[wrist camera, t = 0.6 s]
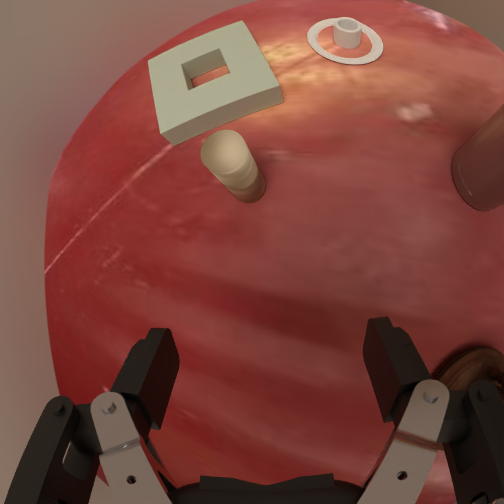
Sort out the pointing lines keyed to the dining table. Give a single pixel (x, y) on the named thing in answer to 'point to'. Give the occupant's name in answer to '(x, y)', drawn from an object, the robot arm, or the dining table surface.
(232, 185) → the birch peg
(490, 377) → the scroll
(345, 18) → the candle holder
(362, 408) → the dining table surface
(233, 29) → the square hole plate
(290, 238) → the dining table surface
